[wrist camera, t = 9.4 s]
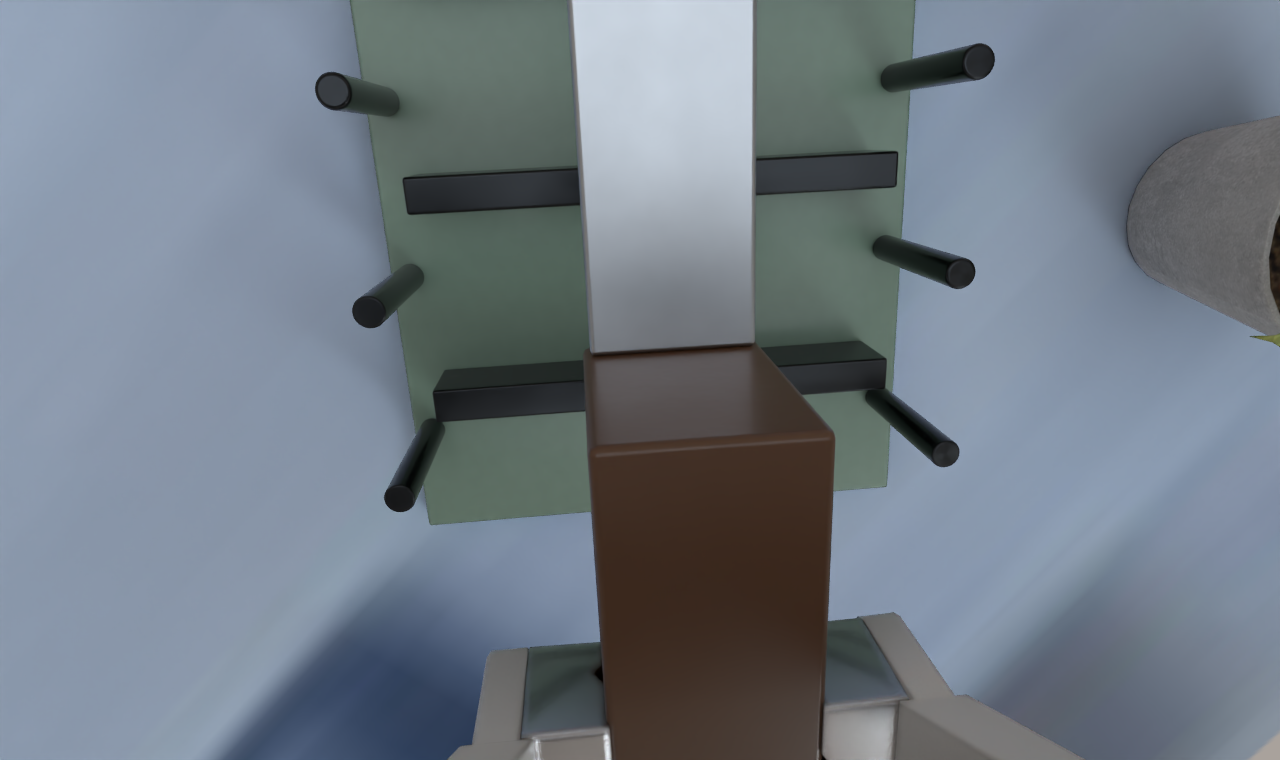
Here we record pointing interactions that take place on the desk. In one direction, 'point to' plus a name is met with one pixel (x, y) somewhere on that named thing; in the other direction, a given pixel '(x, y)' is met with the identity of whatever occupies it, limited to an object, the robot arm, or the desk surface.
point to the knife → (692, 400)
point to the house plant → (1216, 222)
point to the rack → (553, 244)
